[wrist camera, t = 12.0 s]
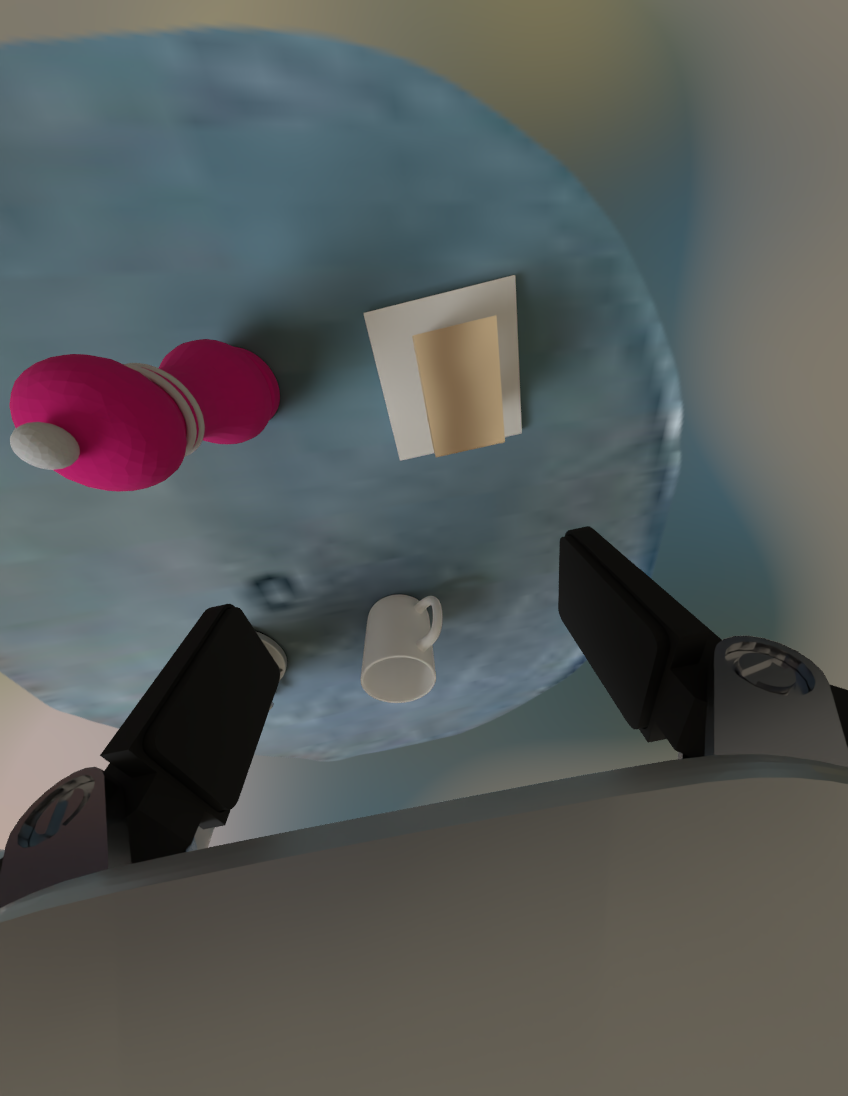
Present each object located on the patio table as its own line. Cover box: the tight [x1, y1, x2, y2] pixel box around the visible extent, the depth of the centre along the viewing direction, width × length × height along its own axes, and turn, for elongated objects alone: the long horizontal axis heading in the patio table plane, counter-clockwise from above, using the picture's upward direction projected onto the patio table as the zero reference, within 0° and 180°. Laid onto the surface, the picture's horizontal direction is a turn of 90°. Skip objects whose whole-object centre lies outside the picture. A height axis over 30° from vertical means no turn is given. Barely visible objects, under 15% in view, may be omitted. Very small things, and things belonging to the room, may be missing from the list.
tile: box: [363, 275, 522, 461], centre depth 29 cm, size 12×12×1 cm
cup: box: [361, 594, 442, 703], centre depth 40 cm, size 8×12×10 cm
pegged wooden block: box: [412, 315, 505, 457], centre depth 25 cm, size 5×8×8 cm, turn 12°
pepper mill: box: [10, 339, 280, 491], centre depth 20 cm, size 7×7×20 cm
